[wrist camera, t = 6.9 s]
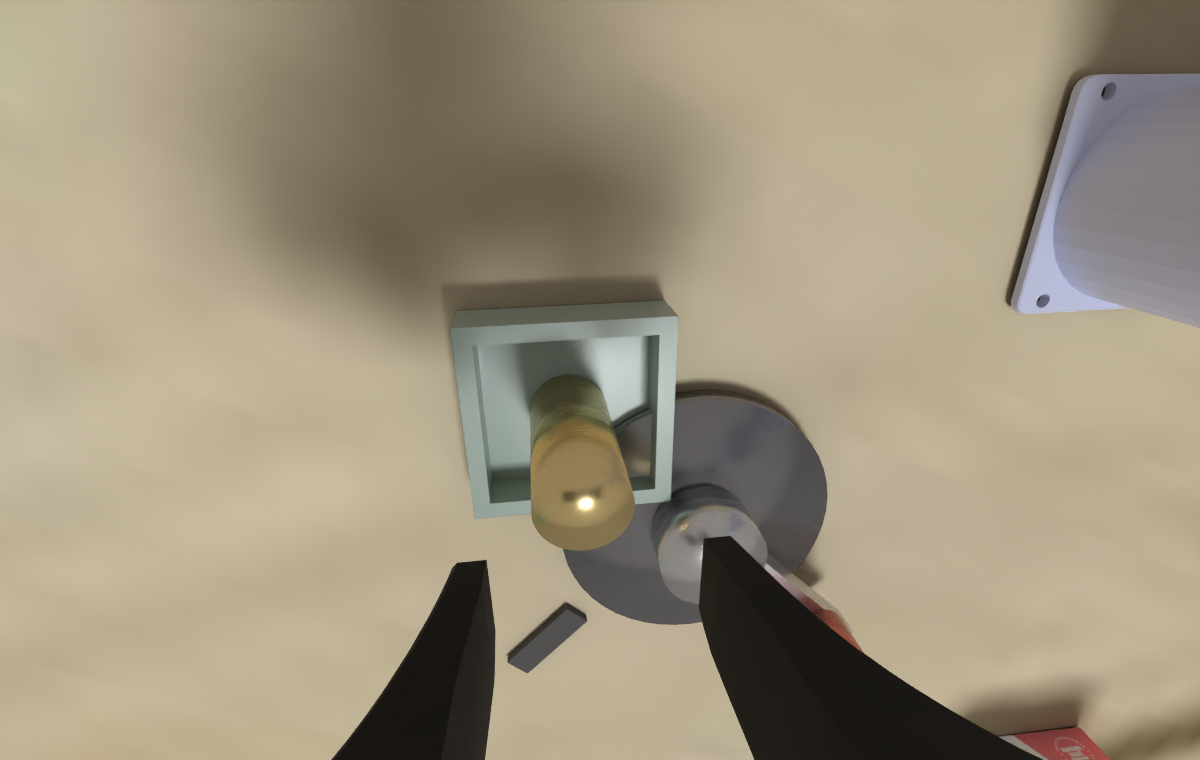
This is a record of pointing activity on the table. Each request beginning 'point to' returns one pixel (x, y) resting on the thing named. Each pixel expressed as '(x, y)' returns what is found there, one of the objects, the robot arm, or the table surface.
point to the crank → (718, 516)
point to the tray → (545, 350)
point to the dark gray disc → (719, 459)
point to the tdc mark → (547, 638)
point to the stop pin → (576, 466)
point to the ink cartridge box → (1058, 745)
